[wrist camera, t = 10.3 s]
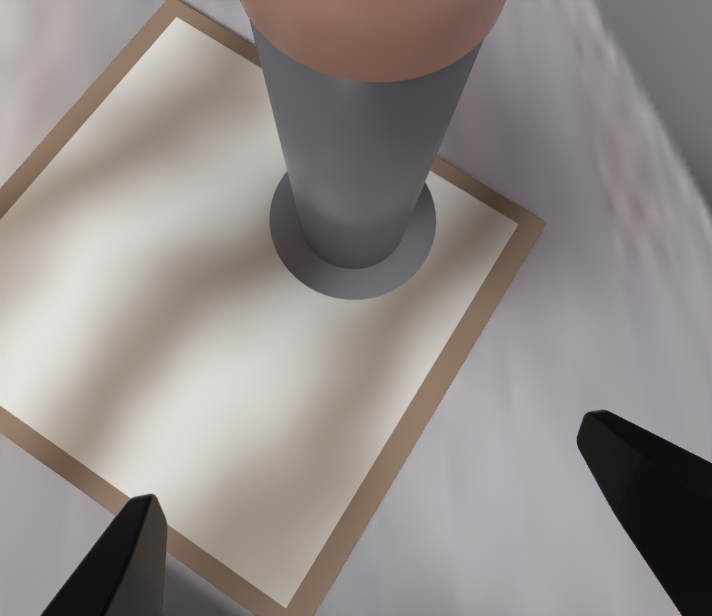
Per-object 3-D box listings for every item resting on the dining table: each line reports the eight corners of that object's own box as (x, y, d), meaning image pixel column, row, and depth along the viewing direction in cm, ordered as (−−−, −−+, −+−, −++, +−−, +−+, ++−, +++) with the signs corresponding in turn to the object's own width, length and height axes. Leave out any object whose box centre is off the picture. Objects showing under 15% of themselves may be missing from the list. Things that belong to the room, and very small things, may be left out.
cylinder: (430, 219, 18) (723, -330, 4) (353, 294, 17) (402, -71, 4) (353, 147, 18) (389, -558, 5) (275, 217, 18) (47, -371, 4)
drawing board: (541, 226, 19) (548, 220, 18) (298, 636, 16) (296, 648, 15) (174, 5, 20) (168, -9, 20) (-119, 339, 17) (-138, 337, 16)
